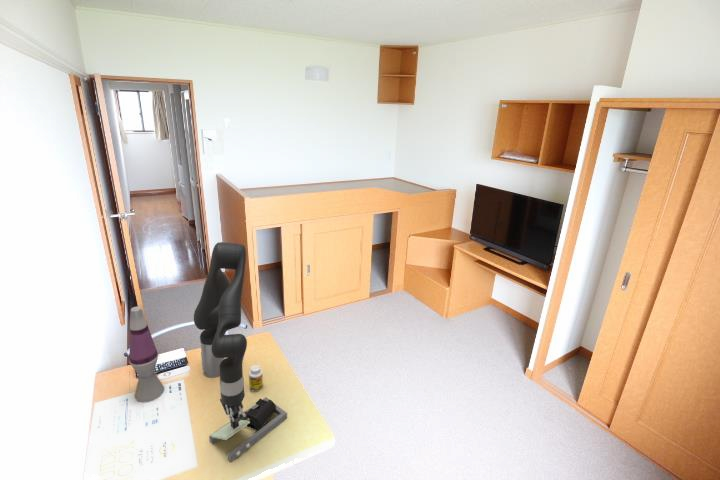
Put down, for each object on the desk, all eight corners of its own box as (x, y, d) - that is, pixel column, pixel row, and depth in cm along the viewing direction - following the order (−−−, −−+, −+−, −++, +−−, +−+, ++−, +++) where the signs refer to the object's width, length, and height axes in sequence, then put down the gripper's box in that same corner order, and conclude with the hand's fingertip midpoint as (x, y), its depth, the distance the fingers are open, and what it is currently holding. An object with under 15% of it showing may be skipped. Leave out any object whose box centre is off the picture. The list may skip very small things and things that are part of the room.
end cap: (260, 433, 140) (260, 420, 138) (245, 427, 143) (244, 413, 140) (276, 415, 149) (276, 401, 147) (261, 408, 152) (261, 395, 149)
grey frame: (209, 441, 136) (209, 436, 135) (266, 401, 155) (266, 396, 154) (231, 463, 128) (231, 458, 128) (288, 418, 148) (288, 413, 147)
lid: (210, 437, 135) (209, 433, 135) (234, 420, 142) (232, 417, 142) (226, 440, 127) (224, 436, 127) (250, 422, 134) (248, 419, 134)
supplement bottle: (249, 392, 159) (248, 373, 156) (249, 383, 164) (248, 364, 161) (262, 391, 160) (262, 371, 157) (262, 382, 165) (262, 363, 162)
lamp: (162, 399, 153) (149, 314, 139) (132, 404, 149) (116, 317, 135) (165, 381, 162) (153, 299, 148) (137, 385, 158) (122, 303, 144)
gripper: (254, 390, 124) (255, 430, 130) (230, 372, 132) (232, 410, 138) (234, 403, 119) (237, 444, 125) (210, 383, 126) (214, 422, 132)
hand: (234, 426), depth 131 cm, fingers closed
